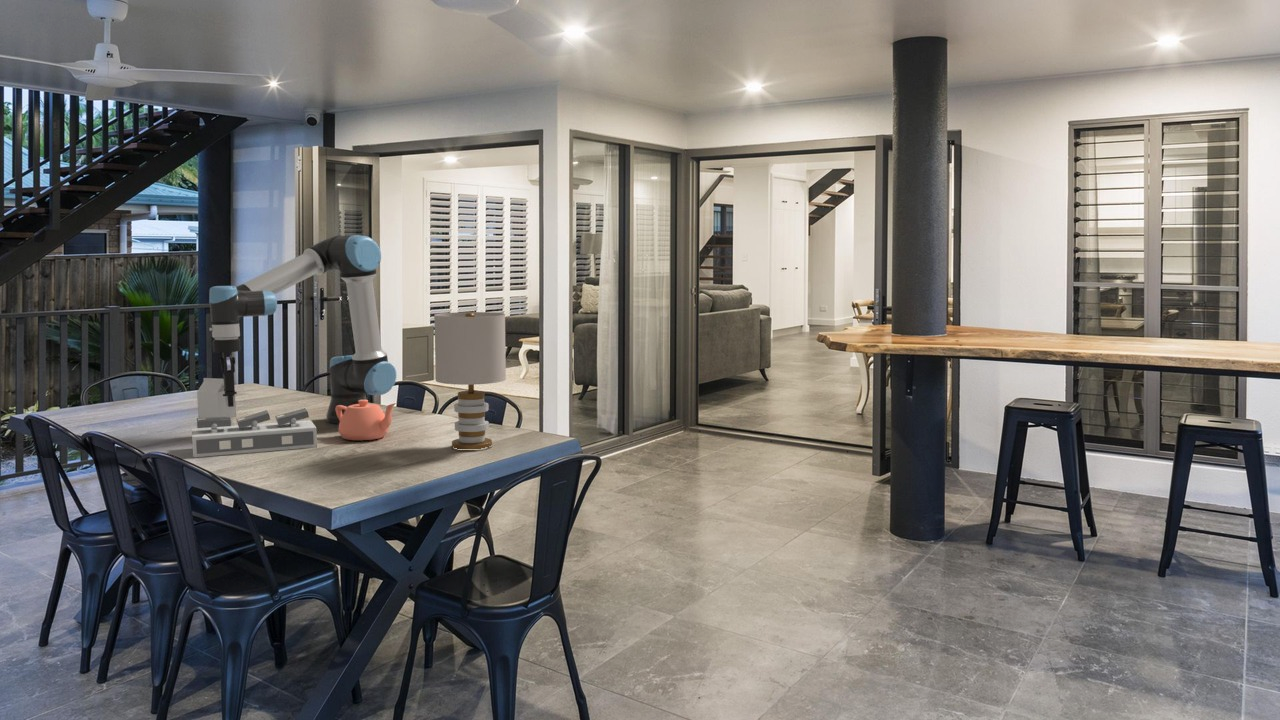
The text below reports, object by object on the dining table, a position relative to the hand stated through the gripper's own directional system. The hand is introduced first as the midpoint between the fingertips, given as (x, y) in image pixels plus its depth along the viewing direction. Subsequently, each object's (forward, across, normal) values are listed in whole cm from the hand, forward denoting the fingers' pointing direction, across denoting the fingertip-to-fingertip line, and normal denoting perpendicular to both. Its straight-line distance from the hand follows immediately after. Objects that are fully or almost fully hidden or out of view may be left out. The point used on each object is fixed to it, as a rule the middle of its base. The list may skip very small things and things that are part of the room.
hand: (231, 416), depth 277 cm
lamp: (+11, +27, +66) cm, 72 cm away
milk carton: (+10, -22, -4) cm, 25 cm away
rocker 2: (+2, 0, +17) cm, 17 cm away
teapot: (+11, -1, +39) cm, 41 cm away
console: (+10, 0, +6) cm, 12 cm away
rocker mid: (+2, 0, +6) cm, 7 cm away
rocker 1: (+2, 0, -5) cm, 5 cm away
